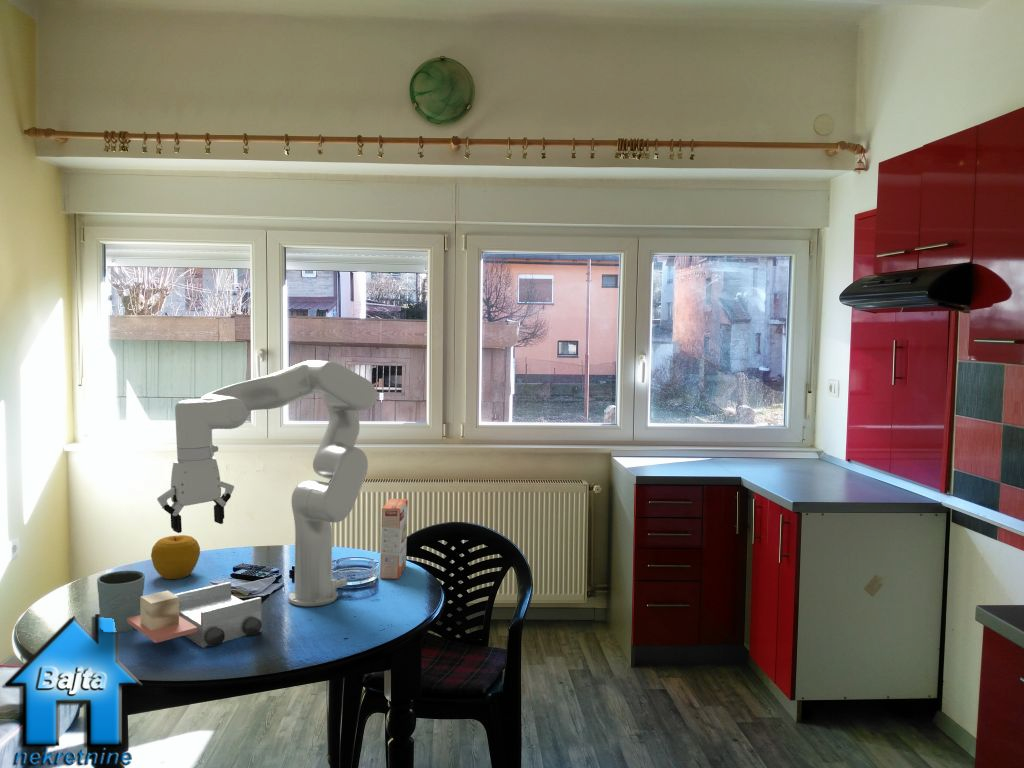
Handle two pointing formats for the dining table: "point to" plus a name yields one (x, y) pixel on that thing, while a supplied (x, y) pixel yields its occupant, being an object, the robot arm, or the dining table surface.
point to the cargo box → (159, 610)
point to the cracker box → (393, 538)
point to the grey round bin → (120, 596)
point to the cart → (219, 614)
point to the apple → (175, 556)
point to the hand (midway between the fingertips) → (198, 527)
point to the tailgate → (163, 629)
